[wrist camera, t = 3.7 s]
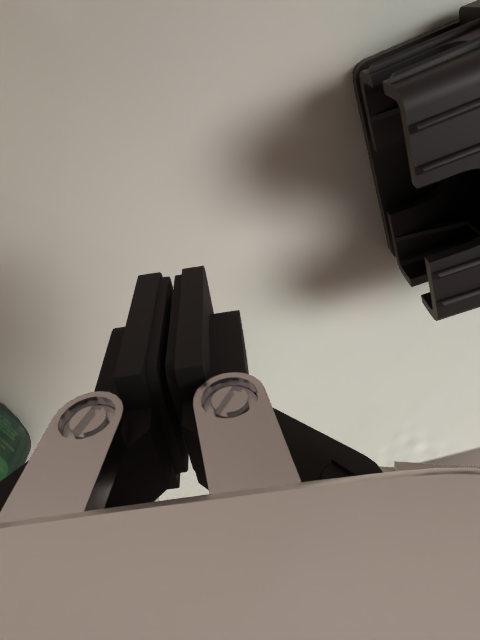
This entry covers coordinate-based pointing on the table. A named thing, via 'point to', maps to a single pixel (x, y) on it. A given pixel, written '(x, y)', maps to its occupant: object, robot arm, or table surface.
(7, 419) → the coffee jar
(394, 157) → the end cap
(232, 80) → the table surface
